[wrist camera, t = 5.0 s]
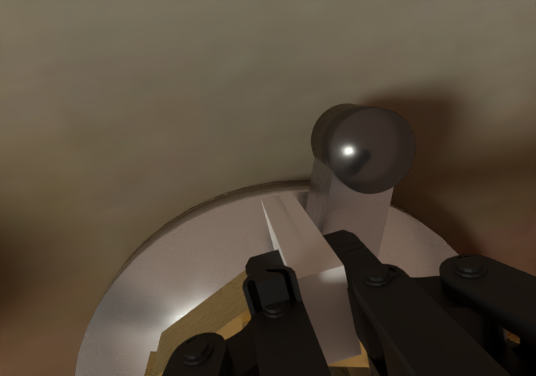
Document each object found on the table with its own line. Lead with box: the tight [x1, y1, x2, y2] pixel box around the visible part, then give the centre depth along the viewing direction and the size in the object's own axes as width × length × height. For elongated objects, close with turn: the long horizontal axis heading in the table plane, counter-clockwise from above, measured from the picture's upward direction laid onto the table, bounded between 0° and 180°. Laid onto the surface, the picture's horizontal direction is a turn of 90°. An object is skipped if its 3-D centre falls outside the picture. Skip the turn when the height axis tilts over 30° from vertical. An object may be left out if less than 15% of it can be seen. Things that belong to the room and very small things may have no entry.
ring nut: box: [144, 104, 416, 376], centre depth 17 cm, size 22×15×4 cm, turn 172°
